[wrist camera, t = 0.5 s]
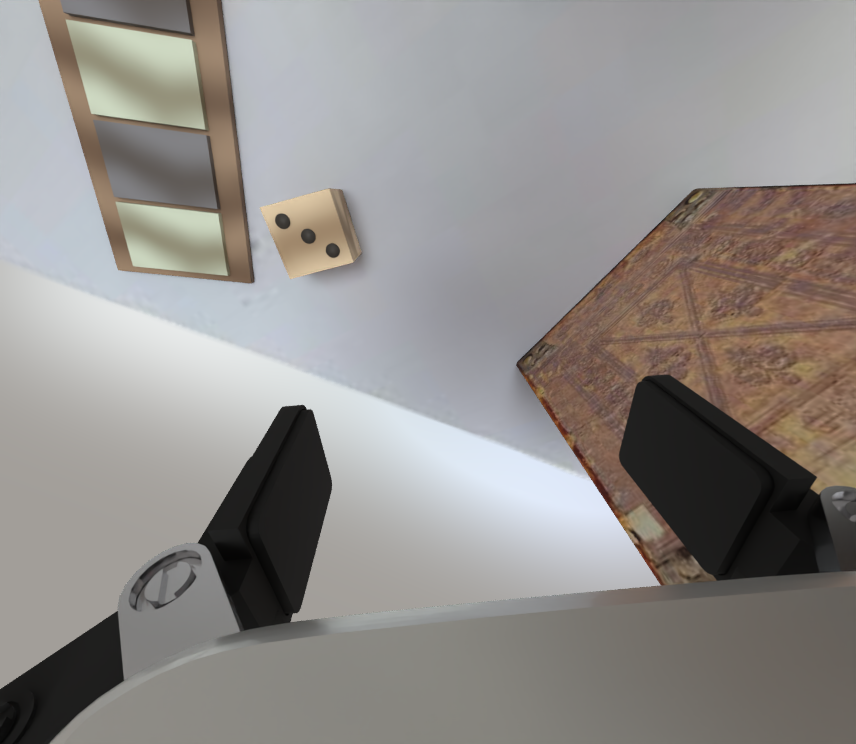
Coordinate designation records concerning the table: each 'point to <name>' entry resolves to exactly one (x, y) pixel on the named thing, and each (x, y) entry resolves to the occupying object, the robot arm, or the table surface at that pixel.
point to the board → (157, 131)
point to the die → (313, 232)
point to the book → (716, 342)
